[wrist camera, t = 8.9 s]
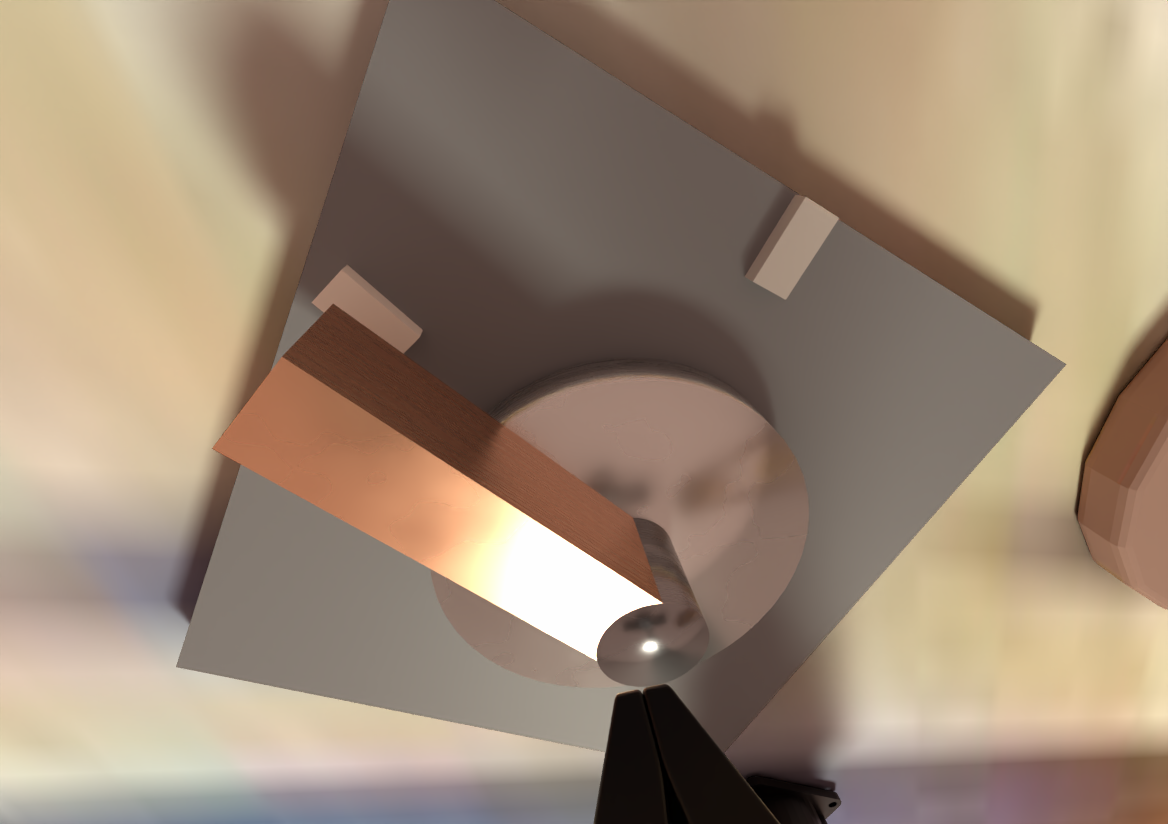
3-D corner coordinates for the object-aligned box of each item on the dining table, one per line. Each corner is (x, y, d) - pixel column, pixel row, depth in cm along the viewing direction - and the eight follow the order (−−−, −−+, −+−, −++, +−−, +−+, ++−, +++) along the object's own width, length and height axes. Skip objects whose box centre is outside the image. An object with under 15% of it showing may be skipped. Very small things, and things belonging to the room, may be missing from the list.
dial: (850, 496, 20) (954, 605, 15) (617, 690, 23) (647, 829, 18) (465, 135, 13) (449, 136, 9) (207, 471, 16) (93, 605, 12)
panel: (1029, 349, 21) (1082, 370, 19) (696, 742, 28) (710, 785, 26) (416, -37, 13) (402, -65, 11) (196, 633, 21) (167, 681, 19)
